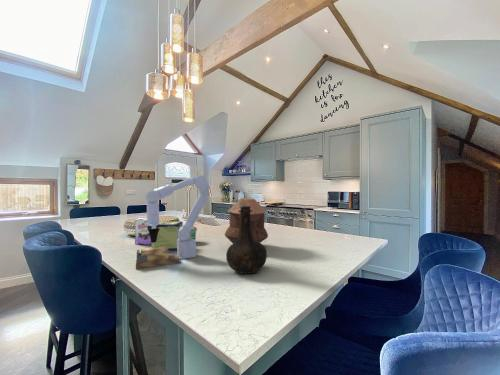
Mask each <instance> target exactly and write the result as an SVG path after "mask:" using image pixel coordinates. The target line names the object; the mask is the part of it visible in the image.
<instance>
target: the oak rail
mask: <svg viewBox="0 0 500 375" xmlns="http://www.w3.org/2000/svg"><path fill="white" fill-rule="evenodd" d="M140 253H141V256H143V255H147V261H151V260H159V259H167V258H168V255H169V251H168V246H165V247H156V248H152V247H150V248H149V247H148V248H141V249H140Z"/></svg>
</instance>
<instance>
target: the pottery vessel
mask: <svg viewBox="0 0 500 375" xmlns="http://www.w3.org/2000/svg"><path fill="white" fill-rule="evenodd" d="M242 206H250V207H251V208H250V210H252V212H250V218H251V229H252V235H253V239H254V241H255V242H258V243H261V244H262V242H263V241H265V240H267V239H268V237H269V234H268V231H267V230H266V228H265V213H267V209H265V208H264V207H263V206H262V205H261V204H260V203H259V202H258V201H257V200H256V199H254V198H251V197H241V198H239V199H238V200H237V201H236V202H235V203H234V204H233V205H232V206H231V207H230V208H229V209H228V210H227V213H229V221H228V222H229V226H228V227H227V228H226V230H225V232H224V236H225V238H226V239H227V240H229V241H230V242H231V243H232V244H234V243H235V242H236V241H237V239H238V235H239V228H240V212H238V211H240V210H241V209H240V207H242Z"/></svg>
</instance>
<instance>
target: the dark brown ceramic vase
mask: <svg viewBox="0 0 500 375" xmlns="http://www.w3.org/2000/svg"><path fill="white" fill-rule="evenodd" d="M250 208H251V207H250V206H242V207H240V209H241V210H240V211H238V212H240V228H239V235H238V239H237V241H236V242H235V243H234V244H233V243H232V244H231V245H230V246H229V247H228V248H227V250H226V256H225V257H226V258H225V260H226V263H227V264H228V266H229V267H230V268H231V270H233V271H235V272H236V273H240V274H253V273H256V272H259V271H260V270H261V269H263V267H264V266H265V264H266V262H267V258H268V257H267V256H268V254H267V250H266V247H265V246H264V245H263V243H262V242H261V243H258V242H255V241H254V239H253V235H252V229H251V218H250V212H252V210H250Z"/></svg>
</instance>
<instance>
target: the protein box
mask: <svg viewBox="0 0 500 375" xmlns="http://www.w3.org/2000/svg"><path fill="white" fill-rule="evenodd" d="M159 223H160V224H159V225H158V228H160V230H159V232H158V235H157V240H156V242H154V243H152V245H151V248H156V247H165V246H168V252H169V251H170V252H171V251H172V252H174V251H175V252H177V239H178V231H179V229H180V227H182V226H183V225H184V223H183V221H159Z"/></svg>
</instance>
